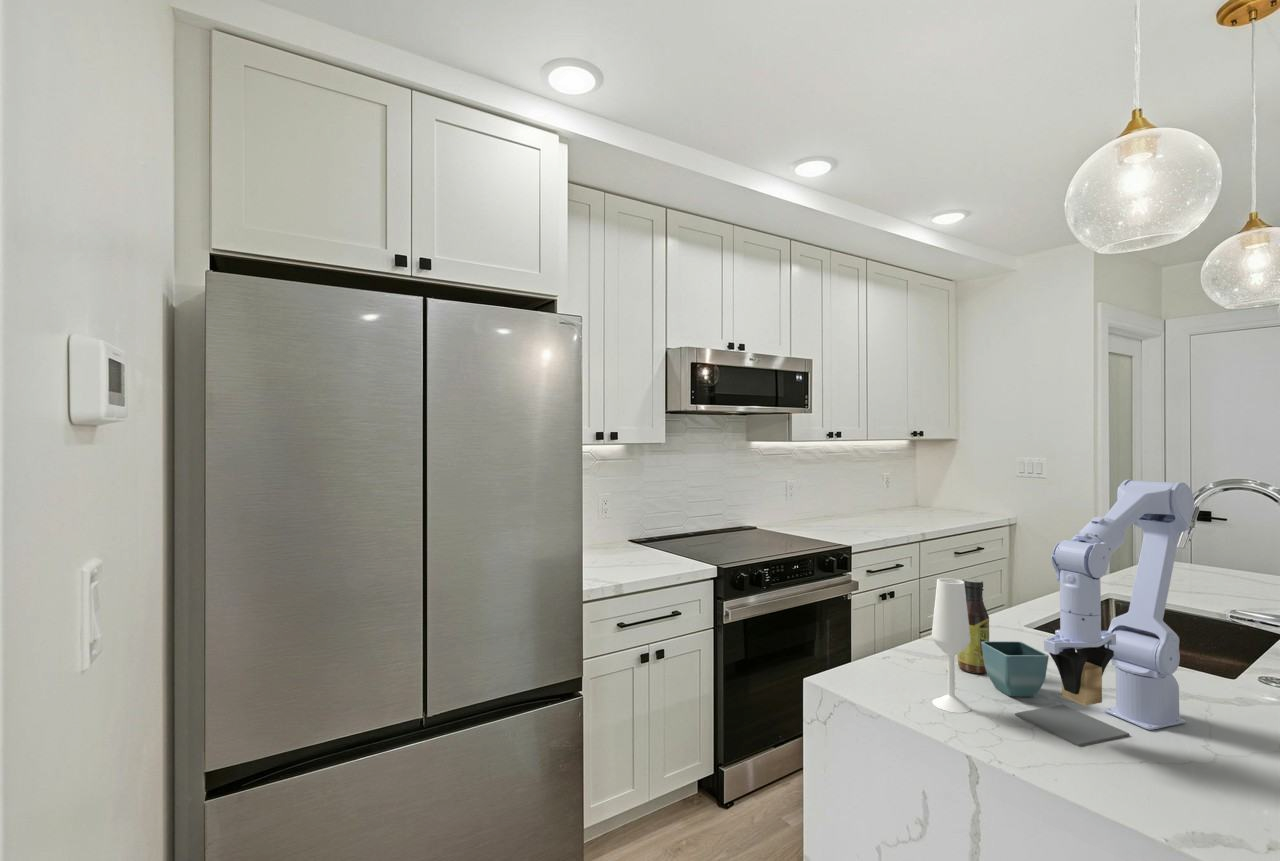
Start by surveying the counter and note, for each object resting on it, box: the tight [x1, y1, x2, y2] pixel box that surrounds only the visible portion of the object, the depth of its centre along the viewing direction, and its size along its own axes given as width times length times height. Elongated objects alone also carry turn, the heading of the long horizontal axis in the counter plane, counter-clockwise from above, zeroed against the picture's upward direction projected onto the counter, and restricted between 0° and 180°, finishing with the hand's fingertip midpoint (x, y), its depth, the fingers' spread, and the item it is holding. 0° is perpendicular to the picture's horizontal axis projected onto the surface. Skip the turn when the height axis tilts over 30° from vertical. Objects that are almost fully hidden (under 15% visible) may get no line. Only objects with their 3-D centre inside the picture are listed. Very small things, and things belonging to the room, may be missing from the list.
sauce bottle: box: [957, 578, 990, 674], centre depth 136 cm, size 7×6×20 cm
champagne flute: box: [931, 577, 972, 714], centre depth 118 cm, size 7×7×24 cm
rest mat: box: [1014, 704, 1130, 747], centre depth 110 cm, size 12×12×1 cm
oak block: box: [1061, 662, 1103, 707], centre depth 105 cm, size 4×4×6 cm
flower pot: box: [981, 640, 1049, 697], centre depth 124 cm, size 9×9×9 cm
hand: (1081, 690), depth 105 cm, fingers closed on oak block, 4 cm apart
